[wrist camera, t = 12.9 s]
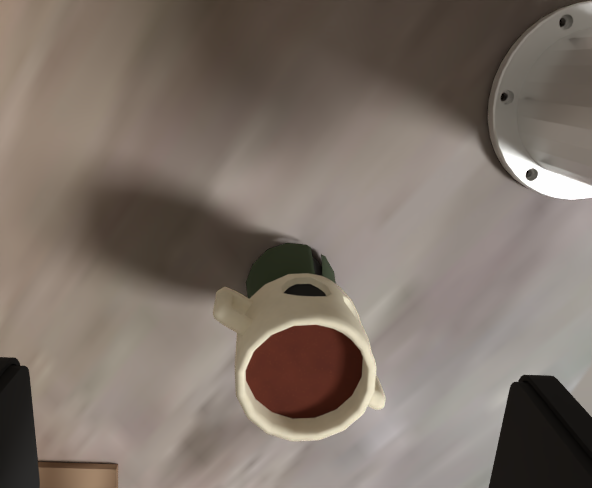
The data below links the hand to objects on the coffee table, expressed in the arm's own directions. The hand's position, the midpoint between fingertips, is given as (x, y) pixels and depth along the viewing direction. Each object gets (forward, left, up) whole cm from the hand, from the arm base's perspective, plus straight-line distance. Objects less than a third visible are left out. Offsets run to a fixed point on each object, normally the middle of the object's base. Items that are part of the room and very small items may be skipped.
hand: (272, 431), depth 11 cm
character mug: (-3, +8, -28) cm, 29 cm away
